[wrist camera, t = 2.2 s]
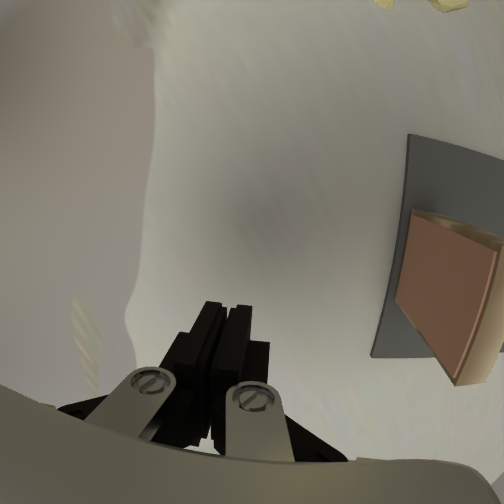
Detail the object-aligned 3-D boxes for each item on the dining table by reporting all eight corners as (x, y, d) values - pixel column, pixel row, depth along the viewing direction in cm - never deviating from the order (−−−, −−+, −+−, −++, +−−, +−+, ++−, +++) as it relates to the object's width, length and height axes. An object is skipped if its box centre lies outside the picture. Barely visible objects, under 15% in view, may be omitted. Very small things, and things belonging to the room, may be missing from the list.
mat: (552, 181, 20) (555, 181, 19) (511, 348, 25) (513, 350, 25) (407, 134, 21) (410, 133, 21) (370, 355, 27) (371, 358, 26)
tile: (436, 212, 22) (531, 250, 10) (418, 301, 24) (485, 382, 13) (409, 208, 22) (499, 244, 11) (392, 300, 24) (451, 386, 13)
